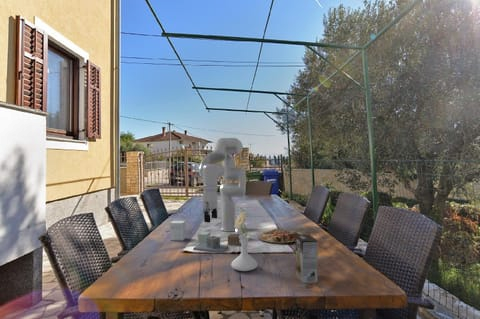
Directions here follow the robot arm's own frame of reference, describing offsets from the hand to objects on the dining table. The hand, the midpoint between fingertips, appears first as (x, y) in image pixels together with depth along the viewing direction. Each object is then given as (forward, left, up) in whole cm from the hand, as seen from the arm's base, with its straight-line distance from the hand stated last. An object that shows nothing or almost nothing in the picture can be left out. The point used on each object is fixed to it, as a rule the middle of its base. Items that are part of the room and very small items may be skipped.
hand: (210, 220), depth 149 cm
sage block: (-11, -9, -15) cm, 21 cm away
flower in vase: (+23, +25, -15) cm, 37 cm away
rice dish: (-30, +33, -16) cm, 47 cm away
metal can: (-22, +9, -15) cm, 28 cm away
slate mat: (+1, 0, -15) cm, 15 cm away
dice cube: (0, +1, -14) cm, 14 cm away
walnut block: (-11, +9, -15) cm, 21 cm away
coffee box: (+25, +51, -15) cm, 59 cm away
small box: (-11, -26, -15) cm, 32 cm away
